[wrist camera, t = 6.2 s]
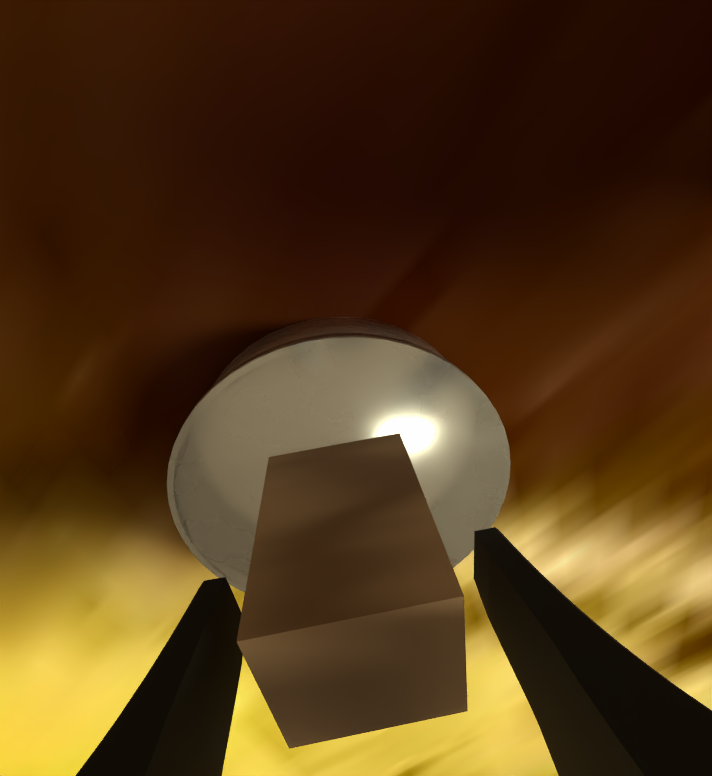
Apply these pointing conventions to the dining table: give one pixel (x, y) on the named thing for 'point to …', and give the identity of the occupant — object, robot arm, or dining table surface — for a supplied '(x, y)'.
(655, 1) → the dining table surface
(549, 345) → the dining table surface
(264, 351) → the biscuit tin
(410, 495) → the walnut block
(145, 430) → the dining table surface
